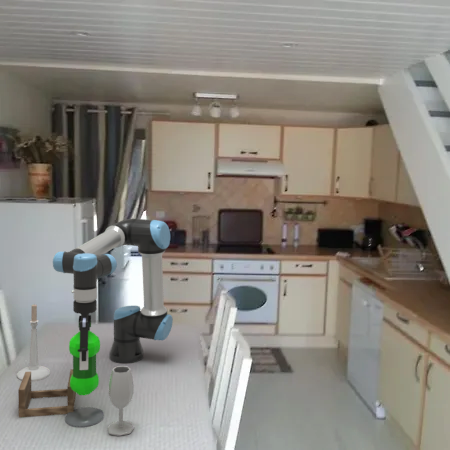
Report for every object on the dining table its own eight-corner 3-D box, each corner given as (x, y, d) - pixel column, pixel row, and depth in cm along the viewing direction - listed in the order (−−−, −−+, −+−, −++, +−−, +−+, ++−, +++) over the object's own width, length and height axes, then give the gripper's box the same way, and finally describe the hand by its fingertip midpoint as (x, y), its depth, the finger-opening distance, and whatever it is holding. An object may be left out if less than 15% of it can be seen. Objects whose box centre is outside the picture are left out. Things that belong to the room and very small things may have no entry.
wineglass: (109, 423, 169) (109, 363, 167) (135, 422, 170) (136, 363, 168) (105, 436, 161) (105, 374, 158) (132, 436, 161) (133, 374, 159)
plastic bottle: (74, 384, 176) (74, 316, 173) (103, 386, 176) (104, 317, 173) (64, 397, 166) (64, 325, 163) (95, 399, 166) (96, 326, 163)
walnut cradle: (76, 394, 189) (76, 369, 188) (73, 413, 175) (73, 386, 174) (25, 397, 185) (25, 371, 184) (18, 417, 171) (18, 389, 169)
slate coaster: (104, 407, 180) (104, 405, 180) (103, 425, 167) (103, 423, 167) (66, 409, 177) (66, 408, 177) (63, 428, 164) (63, 427, 164)
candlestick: (19, 368, 209) (19, 299, 205) (51, 367, 213) (52, 299, 209) (14, 382, 197) (14, 309, 193) (48, 380, 200) (49, 308, 196)
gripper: (75, 291, 178) (75, 351, 180) (70, 309, 155) (70, 377, 158) (97, 291, 179) (96, 350, 182) (95, 309, 157) (95, 376, 160)
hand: (84, 362), depth 170 cm, fingers closed on plastic bottle, 10 cm apart
